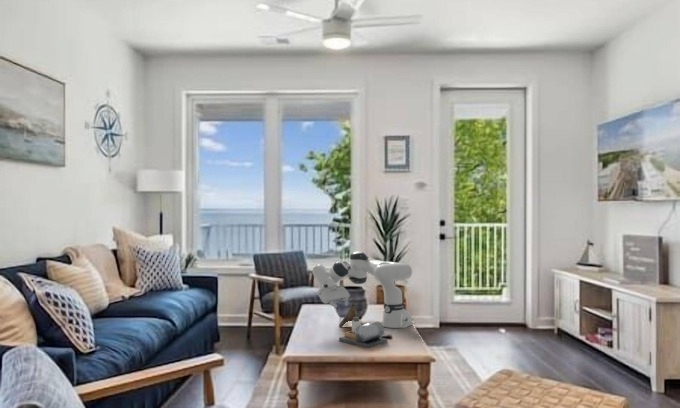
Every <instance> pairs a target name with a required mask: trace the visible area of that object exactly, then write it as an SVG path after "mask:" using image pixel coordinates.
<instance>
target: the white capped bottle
mask: <svg viewBox="0 0 680 408" xmlns="http://www.w3.org/2000/svg"><path fill="white" fill-rule="evenodd" d="M360 325H362V324H361V320H360V316H356V317H353V320H352V327H351V331H352V334H355V330H356V328H357V327H358V326H360Z"/></svg>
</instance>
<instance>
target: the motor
mask: <svg viewBox="0 0 680 408" xmlns="http://www.w3.org/2000/svg"><path fill="white" fill-rule="evenodd" d="M381 323H382V322H380V321H372V322H369V323H365V324H361V325H360V326H358V327H357V328H356V330H355V334H352V330H349V331H346V332H344V336H340V337H338V342H342V343H345V344H350V345H353V346H359V347H363V348H367V349H370V348H374V347H377V346H380V345H383V344H386V343H388V338H386V337H383V336H384V333H385V329H384V328H385V327H384V326H383V325H382V324H381Z"/></svg>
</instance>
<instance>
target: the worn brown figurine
mask: <svg viewBox="0 0 680 408" xmlns="http://www.w3.org/2000/svg"><path fill="white" fill-rule="evenodd" d="M355 303H356V300H355V299H354V300H353V302H352V304H351V305H350V307H349V308H348V310H347V311H346V312H347V313H346V314H345V316H344V317H343V319H342V320H341V321H340V323H339V324H338V327H339V328H341V327H342V326H343V325H344V324H345V323H346V322H348V321H352V320H353V317H357V312H356V311H357V305H356V304H355Z"/></svg>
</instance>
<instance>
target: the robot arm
mask: <svg viewBox="0 0 680 408" xmlns="http://www.w3.org/2000/svg"><path fill="white" fill-rule="evenodd" d="M349 261H350V262H347V261H342V260H341V261H340V260H337V261H336V262H334V263H333V265H332V266H330V268H329V269H327V268H326V267H325V266H324V264H323V263H319V264H317V265H316V266H315V267H314V268H312V275H313V278H314V279H315V280H316V282H317V284H319V286H320V288H319V289H318V290H317V293H316V294H317V295H318V296H319V299H320V300H321V302H322V303H323V304H324V305H325V304H326V305H327V304H329V305H330V306H332V307H333V308H334V309H337V308H338V307H339V306H338V305H337V302H341V301H343V302H344V305H345V306H346V307H347V306H349V305H350V304H349V301H348V299H349V298H350V297H351V294H350V293H349V291H348V290H347V289H346V287H344V286H342V285H338V283H339V282H340V281H344V280H346V279H348V280H350V282H351V283H352V284H355V285H362V284H365V283H366V282H367V278H368V277H367V275H368V274H369V275H371V276H373V277H374V278H375V280H376V281H377V282H378V283H379V284H380V286H381V287H382V289H383V295H384V296H383V298H384V301H383V311H382V321H381V322H380V323H381V324H382V325H383V327H384V328H390V329H392V328H393V329H396V328H398V329H399V328H400V329H404V328H405V329H406V328H408V327H410V326H413V325H415V324H416V322H415V320H412V315H411V313H410V312H409V311H407V310H406V309H405V307H407V305H408V304H407V303H406V302H403V291H402V289H401V288H400V287H398V286H396V284H395V282H399V281H401V282H402V281H406V280H409V279H410V278H411V277H412V275H413V274H412V273H413V270H412V267H411V265H410V264H409V263H404V262H396V261H395V262H394V261H386V260H385V261H384V260H380V259H372V260H370V259H369V256H367V254H366V253H364V252H363V251H360V250H358V251H354V252H351V254H350V256H349ZM335 302H336V303H335Z"/></svg>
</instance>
